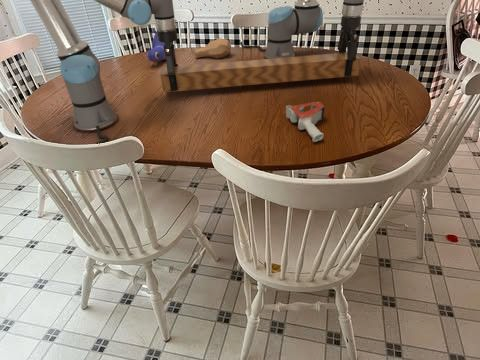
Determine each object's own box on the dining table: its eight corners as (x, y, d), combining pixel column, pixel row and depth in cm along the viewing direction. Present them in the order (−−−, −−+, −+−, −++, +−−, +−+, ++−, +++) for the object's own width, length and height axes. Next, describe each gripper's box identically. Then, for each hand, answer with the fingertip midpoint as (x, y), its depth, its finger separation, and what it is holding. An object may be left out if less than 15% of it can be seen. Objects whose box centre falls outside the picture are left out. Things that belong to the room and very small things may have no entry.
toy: (161, 62, 200) (141, 68, 178) (157, 30, 193) (135, 32, 171) (177, 61, 198) (159, 67, 176) (173, 29, 191) (154, 30, 169)
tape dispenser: (318, 148, 112) (340, 119, 125) (320, 134, 109) (342, 106, 122) (269, 134, 120) (295, 107, 132) (269, 120, 116) (295, 94, 129)
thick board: (163, 92, 146) (160, 74, 142) (164, 84, 153) (161, 67, 149) (357, 75, 151) (360, 57, 146) (351, 69, 157) (353, 51, 153)
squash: (233, 58, 187) (229, 42, 180) (196, 65, 189) (191, 49, 182) (232, 49, 194) (229, 33, 188) (196, 56, 196) (192, 40, 190)
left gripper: (174, 36, 128) (183, 95, 141) (177, 22, 145) (184, 77, 158) (153, 37, 128) (164, 97, 141) (159, 24, 145) (167, 78, 158)
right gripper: (371, 21, 131) (361, 80, 145) (351, 9, 148) (344, 63, 162) (351, 23, 131) (343, 82, 145) (334, 10, 148) (328, 64, 162)
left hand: (175, 86), depth 150 cm, fingers closed on thick board, 8 cm apart
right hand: (343, 71), depth 153 cm, fingers closed on thick board, 8 cm apart
